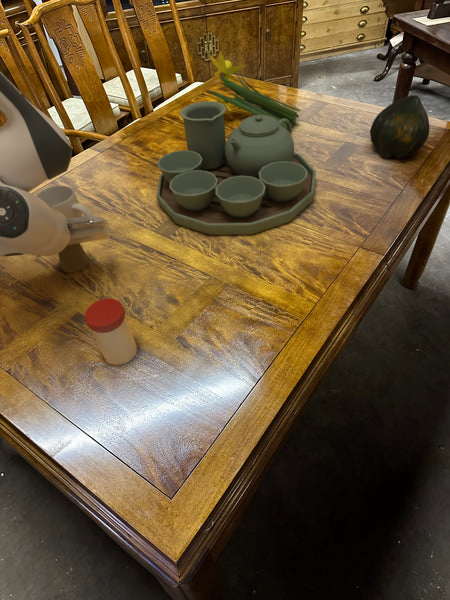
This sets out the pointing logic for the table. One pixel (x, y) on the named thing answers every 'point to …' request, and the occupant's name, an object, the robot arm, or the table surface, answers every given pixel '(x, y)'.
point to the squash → (400, 128)
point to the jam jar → (117, 344)
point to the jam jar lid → (105, 315)
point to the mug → (64, 201)
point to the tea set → (234, 174)
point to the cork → (73, 258)
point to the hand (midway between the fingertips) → (66, 241)
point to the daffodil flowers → (248, 95)
